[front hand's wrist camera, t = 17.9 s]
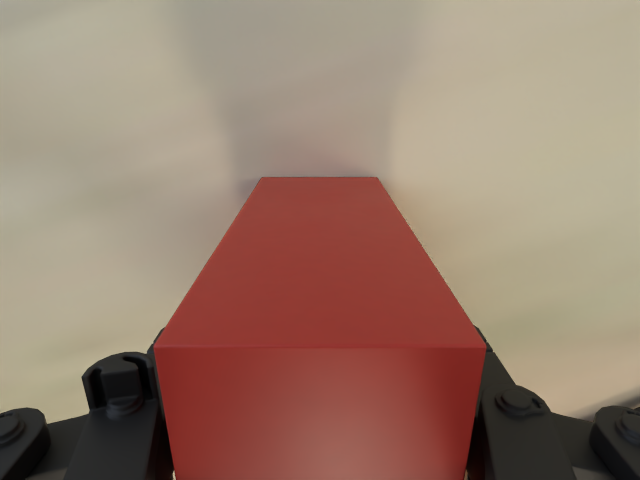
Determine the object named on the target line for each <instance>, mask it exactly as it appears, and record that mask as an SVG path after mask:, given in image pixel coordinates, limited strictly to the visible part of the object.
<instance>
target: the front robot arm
mask: <svg viewBox="0 0 640 480" xmlns="http://www.w3.org/2000/svg"><path fill="white" fill-rule="evenodd" d="M474 327H475V328H476V330H477V332H478V333H479V335H480V336H481V338H482V339H483V341H484V342H485V344H486V353H485V359H484V365H483V371H482V377H481V383H480V388H479V394H478V400H477V406H476V412H475V418H474V424H473V430H472V435H471V441H470V447H469V453H468V459H467V465H466V470H467V472H468V474H467V480H640V407H638V408H636V409H630V408H626V407H618V406H609V407H603V408H601V409H600V410H599V411H598V412H597V413H596V415H595V418H594V421H593V422H589V421H585V420H580V419H576V418H571V417H567V416H563V415H559V414H556V413H553V412H551V411H550V409H549V407H548V406H547V404H546V403H545V401H544V400H542V399H541V398H540V397H539V396H538V395H536V394H535V393H534V392H532V391H530V390H528V389H526V388H524V387H522V386H518V385H516V384H515V383H514V381H513V380H512V378H511V377H510V375H509V374H508V372H507V371H506V369H505V368H504V366H503V365H502V363H501V362H500V360H499V359H498V357H497V356H496V354H495V353H494V352H493V349H492V348H491V346H490V345H489V343H487V342H486V339H485V337H484V336H483V334H482V333H481V331H480V330H479V328H477V327H476V326H474ZM164 329H165V327H164V328H163V329H162V330H161V331H160V332H159V334H158V335H157V337H156V339H155V340H154V343H153V344H152V345H151V346H150V348H149V349H148V351H147V354H144V353H140V352H123V353H119V354H115V355H111V356H109V357H106V358H104V359H102V360H99V361H98V362H96V363H95V364H94V365H92V366H91V367H89V368H88V369H87V370H86V372H85V373H84V374H83V376H82V381H83V385H84V389H85V393H86V397H87V401H88V405H89V409H90V412H89V414H86V415H83V416H79V417H76V418H71V419H67V420H63V421H58V422H54V423H50V424H47V423H46V419H45V416H44V414H43V413H42V412H40V411H39V410H38V409H33V408H20V409H13V410H10V411H7V412H4V413H1V414H0V480H173V471H174V465H173V459H172V453H171V448H170V442H169V436H168V430H167V424H166V418H165V412H164V406H163V401H162V395H161V389H160V383H159V377H158V371H157V365H156V360H155V354H154V344H155V343H156V341H157V340H158V338H159V336H160V335H161V333H162V332H163V330H164Z"/></svg>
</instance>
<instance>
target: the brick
mask: <svg viewBox="0 0 640 480" xmlns="http://www.w3.org/2000/svg"><path fill="white" fill-rule="evenodd" d="M485 353H486V344H485V342H484V341H483V339H482V338H481V336H480V335H479V333H478V332H477V330H476V328H475V327H474V325H473V324H472V322H471V321H470V319H469V318H468V316H467V315H466V313H465V312H464V310H463V308H462V307H461V305H460V304H459V302H458V301H457V299H456V298H455V296H454V295H453V293H452V292H451V290H450V288H449V287H448V285H447V284H446V282H445V281H444V279H443V278H442V276H441V275H440V273H439V272H438V270H437V269H436V267H435V265H434V264H433V262H432V261H431V259H430V258H429V256H428V255H427V253H426V252H425V250H424V249H423V247H422V245H421V244H420V242H419V241H418V239H417V238H416V236H415V235H414V233H413V232H412V230H411V229H410V227H409V225H408V224H407V222H406V221H405V219H404V218H403V216H402V215H401V213H400V212H399V210H398V209H397V207H396V206H395V204H394V202H393V201H392V199H391V198H390V196H389V195H388V193H387V192H386V190H385V189H384V187H383V186H382V184H381V182H380V181H379V179H378V178H377V177H262V178H261V179H260V181H259V182H258V184H257V186H256V187H255V189H254V190H253V192H252V193H251V195H250V196H249V198H248V200H247V201H246V203H245V204H244V206H243V207H242V209H241V210H240V212H239V214H238V215H237V217H236V218H235V220H234V221H233V223H232V224H231V226H230V228H229V229H228V231H227V232H226V234H225V235H224V237H223V238H222V240H221V242H220V243H219V245H218V246H217V248H216V249H215V251H214V252H213V254H212V256H211V257H210V259H209V260H208V262H207V263H206V265H205V266H204V268H203V270H202V271H201V273H200V274H199V276H198V277H197V279H196V280H195V282H194V284H193V285H192V287H191V288H190V290H189V291H188V293H187V294H186V296H185V298H184V299H183V301H182V302H181V304H180V305H179V307H178V308H177V310H176V312H175V313H174V315H173V316H172V318H171V319H170V321H169V322H168V324H167V326H166V327H165V329H164V330H163V332H162V333H161V335H160V336H159V338H158V340H157V341H156V343H155V344H154V354H155V360H156V365H157V371H158V377H159V383H160V389H161V395H162V401H163V406H164V412H165V418H166V424H167V430H168V436H169V442H170V448H171V453H172V459H173V465H174V471H175V477H176V480H464V476H465V471H466V465H467V459H468V453H469V447H470V441H471V435H472V430H473V424H474V418H475V412H476V406H477V400H478V394H479V388H480V383H481V377H482V371H483V365H484V359H485Z"/></svg>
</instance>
